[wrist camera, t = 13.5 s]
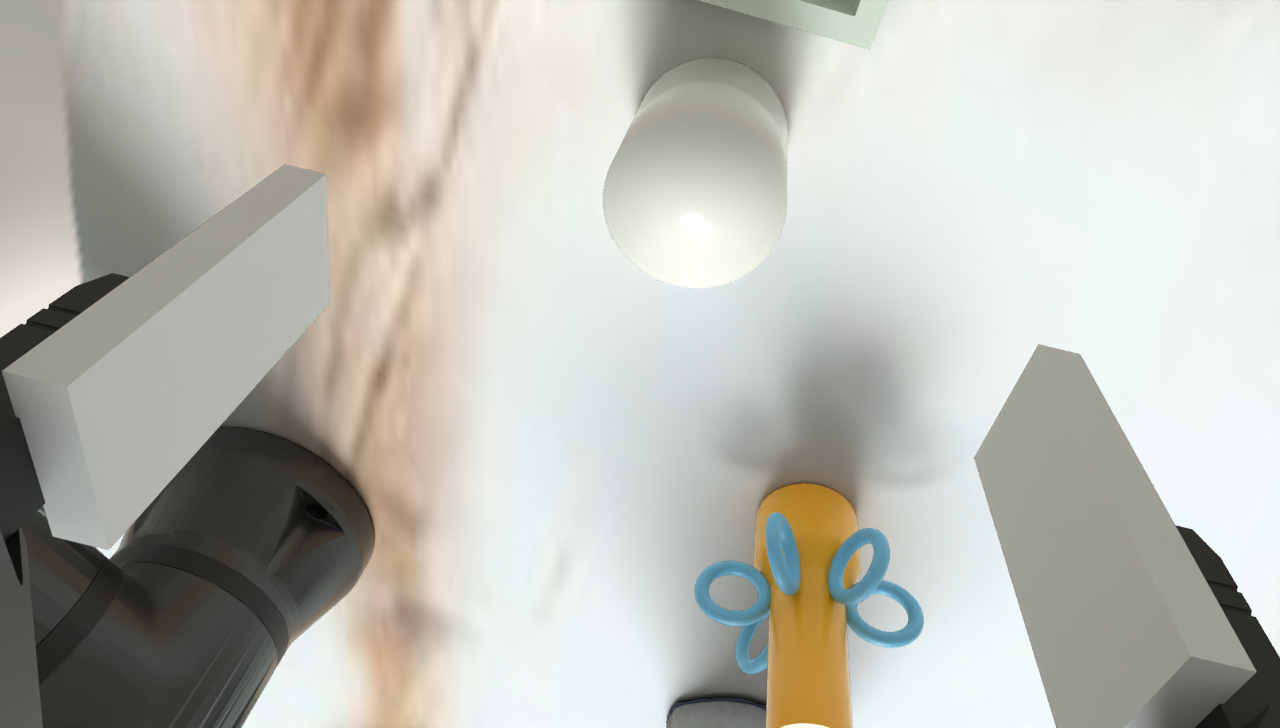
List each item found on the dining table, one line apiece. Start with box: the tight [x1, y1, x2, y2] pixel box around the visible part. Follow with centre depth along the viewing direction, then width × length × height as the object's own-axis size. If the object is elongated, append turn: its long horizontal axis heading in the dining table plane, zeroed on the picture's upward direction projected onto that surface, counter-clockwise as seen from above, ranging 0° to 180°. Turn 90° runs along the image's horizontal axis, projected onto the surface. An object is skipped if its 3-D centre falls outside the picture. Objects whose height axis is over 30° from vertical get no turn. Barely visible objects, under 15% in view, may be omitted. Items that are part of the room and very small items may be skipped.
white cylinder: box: [603, 58, 788, 288], centre depth 35 cm, size 7×7×8 cm
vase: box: [695, 483, 924, 728], centre depth 44 cm, size 12×10×15 cm
